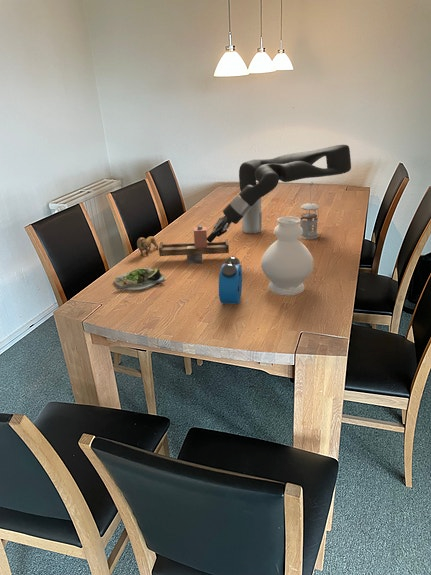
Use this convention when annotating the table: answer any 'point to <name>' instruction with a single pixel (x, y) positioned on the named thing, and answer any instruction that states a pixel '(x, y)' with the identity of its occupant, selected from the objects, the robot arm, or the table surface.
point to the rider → (200, 237)
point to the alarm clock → (230, 281)
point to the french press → (309, 220)
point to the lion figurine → (146, 244)
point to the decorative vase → (287, 259)
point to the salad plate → (139, 279)
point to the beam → (193, 250)
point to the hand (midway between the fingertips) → (208, 240)
